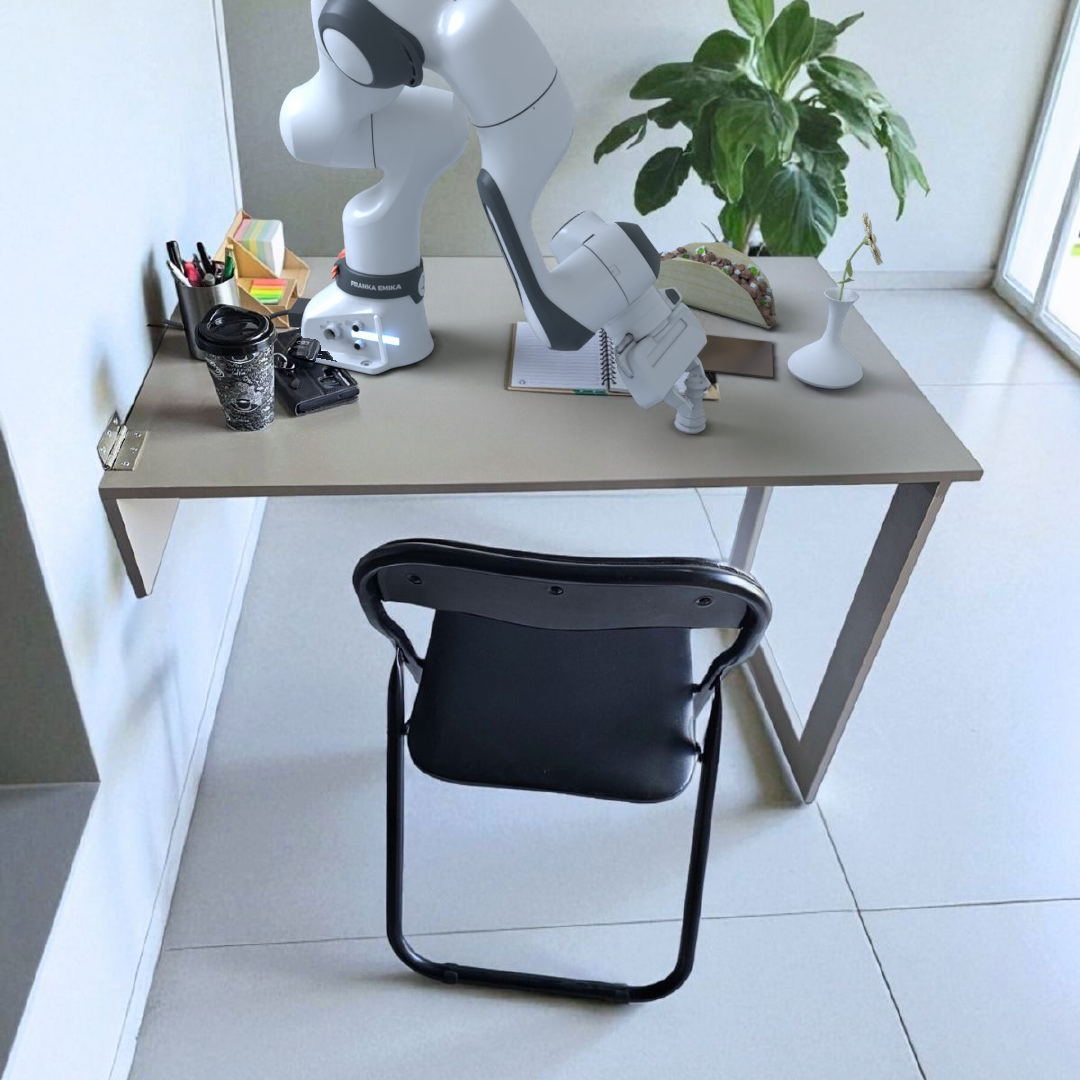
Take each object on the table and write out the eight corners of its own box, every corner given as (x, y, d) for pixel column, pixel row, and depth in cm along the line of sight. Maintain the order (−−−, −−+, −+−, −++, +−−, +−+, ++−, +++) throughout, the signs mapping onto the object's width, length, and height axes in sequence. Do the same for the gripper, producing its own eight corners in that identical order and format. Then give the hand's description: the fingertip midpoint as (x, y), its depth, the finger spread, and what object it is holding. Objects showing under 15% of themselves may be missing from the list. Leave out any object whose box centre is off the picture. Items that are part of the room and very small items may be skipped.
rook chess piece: (704, 437, 146) (711, 387, 141) (672, 432, 147) (678, 382, 142) (706, 421, 150) (714, 371, 145) (675, 417, 150) (682, 367, 145)
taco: (762, 338, 171) (773, 280, 165) (619, 296, 182) (624, 240, 176) (785, 318, 178) (796, 261, 171) (645, 278, 189) (651, 223, 182)
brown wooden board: (630, 363, 163) (630, 361, 162) (636, 329, 172) (637, 327, 172) (772, 379, 160) (773, 376, 160) (771, 343, 170) (771, 341, 169)
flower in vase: (845, 403, 155) (886, 241, 140) (774, 381, 160) (805, 221, 144) (873, 369, 164) (914, 213, 149) (804, 349, 169) (837, 196, 153)
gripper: (627, 340, 133) (690, 425, 136) (680, 282, 148) (736, 360, 150) (592, 363, 137) (655, 446, 140) (647, 305, 152) (703, 380, 155)
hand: (697, 401), depth 145 cm, fingers open, 6 cm apart
